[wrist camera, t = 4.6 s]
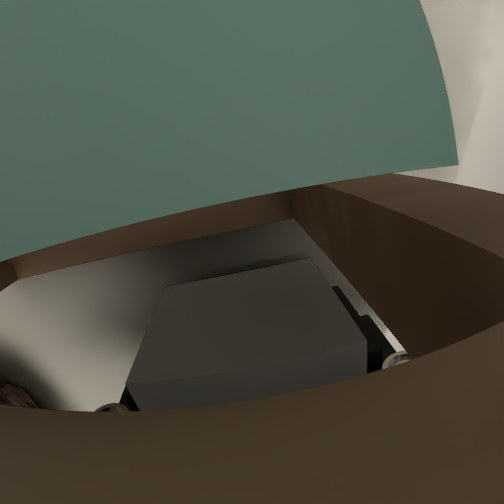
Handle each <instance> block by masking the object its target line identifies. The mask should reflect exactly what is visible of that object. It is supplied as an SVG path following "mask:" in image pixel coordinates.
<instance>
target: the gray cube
mask: <svg viewBox="0 0 504 504" xmlns="http://www.w3.org/2000/svg"><path fill="white" fill-rule="evenodd" d="M365 374H367V340H366V338H365V337H364V335H363V334H362V332H361V331H360V329H359V328H358V326H357V325H356V323H355V322H354V320H353V319H352V317H351V316H350V314H349V313H348V311H347V310H346V308H345V307H344V305H343V304H342V302H341V301H340V299H339V298H338V296H337V295H336V293H335V292H334V290H333V289H332V287H331V286H330V285H329V283H328V282H327V280H326V279H325V277H324V276H323V274H322V273H321V272H320V270H319V269H318V267H317V266H316V264H315V263H314V262H313V260H312V259H311V258H308V259H303V260H298V261H294V262H289V263H284V264H279V265H274V266H270V267H265V268H260V269H255V270H250V271H245V272H240V273H235V274H230V275H225V276H220V277H215V278H210V279H205V280H200V281H195V282H190V283H185V284H180V285H175V286H169V287H166V288H165V291H164V293H163V295H162V297H161V300H160V302H159V304H158V306H157V309H156V311H155V313H154V315H153V318H152V320H151V322H150V325H149V327H148V329H147V332H146V334H145V336H144V339H143V341H142V344H141V346H140V348H139V351H138V353H137V356H136V358H135V361H134V363H133V366H132V368H131V370H130V373H129V376H128V378H127V381H126V383H125V385H126V386H127V388H128V390H129V392H130V394H131V395H132V397H133V399H134V401H135V403H136V404H137V406H138V408H139V409H140V411H156V410H171V409H184V408H194V407H204V406H213V405H221V404H228V403H235V402H242V401H249V400H255V399H261V398H267V397H272V396H277V395H283V394H288V393H293V392H297V391H302V390H307V389H311V388H315V387H320V386H324V385H328V384H332V383H336V382H340V381H344V380H347V379H351V378H355V377H358V376H362V375H365Z"/></svg>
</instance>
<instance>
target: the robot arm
mask: <svg viewBox="0 0 504 504" xmlns="http://www.w3.org/2000/svg"><path fill="white" fill-rule="evenodd" d="M332 289H333V290H334V292H335V293H336V295H337V296H338V298H339V299H340V301H341V302H342V304H343V305H344V307H345V308H346V310H347V311H348V313H349V314H350V316H351V317H352V319H353V320H354V322H355V323H356V325H357V326H358V328H359V329H360V331H361V332H362V334H363V335H364V337H365V338H366V340H367V374H369V373H372V372H375V371H379V370H382V369H385V368H388V367H391V366H394V365H398V364H401V363H404V362H406V361H409V360H412V358H411V357H410V355H409V354H408V353H407V352H406V351H400V352H396V351H395V350H394V348H393V347H392V345H391V344H390V343H389V341H388V340H387V339H386V337H385V336H384V335H383V333H382V332H381V331H380V329H379V328H378V327H377V325H376V324H375V323H374V321H373V320H372V319H371V317H370V316H369V315H363V316H359V314H358V313H357V311H356V310H355V309H354V307H353V306H352V305H351V303H350V302H349V300H348V299H347V298H346V296H345V295H344V293H343V292H342V291H341V289H340V288H339V287H338V286H334V287H332ZM133 411H140V409H139V408H138V406H137V404H136V403H135V401H134V399H133V397H132V395H131V394H130V392H129V390H128V388H127V386H125V389H124V391H123V394H122V396H121V399H120V402H119V403H111V404H107V405H104V406H102V407H100V408H98V409H97V410H96V411H94V412H133Z"/></svg>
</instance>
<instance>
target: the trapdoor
mask: <svg viewBox="0 0 504 504" xmlns="http://www.w3.org/2000/svg"><path fill="white" fill-rule="evenodd" d="M453 165H458V157H457V149H456V141H455V134H454V128H453V121H452V116H451V110H450V105H449V100H448V95H447V91H446V86H445V82H444V78H443V74H442V70H441V66H440V62H439V58H438V55H437V51H436V48H435V45H434V41H433V38H432V35H431V32H430V29H429V26H428V23H427V20H426V17H425V15H424V12H423V9H422V6H421V4H420V1H419V0H0V262H1V261H4V260H7V259H10V258H13V257H16V256H20V255H23V254H26V253H29V252H33V251H36V250H39V249H43V248H46V247H49V246H53V245H56V244H60V243H63V242H67V241H70V240H74V239H77V238H81V237H84V236H88V235H92V234H95V233H99V232H103V231H107V230H110V229H114V228H118V227H122V226H126V225H130V224H134V223H138V222H142V221H146V220H150V219H154V218H158V217H162V216H166V215H171V214H175V213H179V212H184V211H188V210H192V209H197V208H201V207H206V206H210V205H215V204H220V203H224V202H229V201H234V200H239V199H244V198H249V197H254V196H259V195H264V194H269V193H274V192H279V191H285V190H290V189H296V188H301V187H307V186H313V185H318V184H324V183H330V182H336V181H342V180H349V179H355V178H362V177H368V176H375V175H382V174H389V173H396V172H403V171H411V170H419V169H427V168H435V167H444V166H453Z"/></svg>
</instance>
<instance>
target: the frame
mask: <svg viewBox="0 0 504 504" xmlns="http://www.w3.org/2000/svg"><path fill="white" fill-rule="evenodd" d="M293 218H294V219H295V220H296V221H297V222H298V223H299V225H300V226H301V227H302V228H303V229H304V230H305V231H306V232H307V233H308V235H309V236H310V237H311V238H312V239H313V240H314V241H315V242H316V244H317V245H318V246H319V247H320V248H321V249H322V250H323V252H324V253H325V254H326V255H327V256H328V257H329V258H330V260H331V261H332V262H333V263H334V264H335V265H336V267H337V268H338V269H339V270H340V271H341V272H342V274H343V275H344V276H345V277H346V278H347V279H348V281H349V282H350V283H351V284H352V285H353V286H354V288H355V289H356V290H357V291H358V292H359V294H360V295H361V296H362V297H363V298H364V300H365V301H366V302H367V303H368V304H369V306H370V307H371V308H372V309H373V310H374V312H375V313H376V314H377V315H378V317H379V318H380V319H381V320H382V321H383V323H384V324H385V325H386V326H387V328H388V329H389V330H390V331H391V332H392V334H393V335H394V336H395V338H396V339H397V340H398V341H399V343H400V344H401V345H402V346H403V348H404V349H405V350H406V352H407V353H408V354H409V355H410V357H411V358H412V360H409V361H406V362H404V363H401V364H398V365H394V366H391V367H388V368H385V369H382V370H379V371H375V372H372V373H369V374H365V375H362V376H358V377H355V378H351V379H347V380H344V381H340V382H336V383H332V384H328V385H324V386H320V387H315V388H311V389H307V390H302V391H297V392H293V393H288V394H283V395H277V396H272V397H267V398H261V399H255V400H249V401H242V402H235V403H228V404H221V405H213V406H204V407H194V408H184V409H171V410H156V411H133V412H82V411H60V410H45V409H34V408H24V407H15V406H7V405H0V504H504V194H500V193H496V192H491V191H487V190H482V189H478V188H473V187H468V186H463V185H458V184H453V183H448V182H442V181H437V180H431V179H425V178H419V177H413V176H406V175H400V174H393V173H389V174H382V175H375V176H368V177H362V178H355V179H349V180H342V181H336V182H330V183H324V184H318V185H313V186H307V187H301V188H296V189H290V190H285V191H279V192H274V193H269V194H264V195H259V196H254V197H249V198H244V199H239V200H234V201H229V202H224V203H220V204H215V205H210V206H206V207H201V208H197V209H192V210H188V211H184V212H179V213H175V214H171V215H166V216H162V217H158V218H154V219H150V220H146V221H142V222H138V223H134V224H130V225H126V226H122V227H118V228H114V229H110V230H107V231H103V232H99V233H95V234H92V235H88V236H84V237H81V238H77V239H74V240H70V241H67V242H63V243H60V244H56V245H53V246H49V247H46V248H43V249H39V250H36V251H33V252H29V253H26V254H23V255H20V256H16V257H13V258H10V259H7V260H4V261H1V262H0V291H2V290H3V289H5V288H6V287H8V286H9V285H11V284H12V283H14V282H15V281H17V280H18V279H22V278H26V277H30V276H34V275H38V274H42V273H46V272H50V271H54V270H58V269H62V268H67V267H71V266H75V265H79V264H83V263H88V262H92V261H96V260H100V259H105V258H109V257H113V256H118V255H122V254H126V253H131V252H135V251H140V250H144V249H149V248H153V247H158V246H162V245H167V244H171V243H176V242H181V241H185V240H190V239H195V238H199V237H204V236H209V235H214V234H218V233H223V232H228V231H233V230H238V229H243V228H248V227H253V226H258V225H263V224H268V223H273V222H278V221H283V220H288V219H293Z"/></svg>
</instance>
